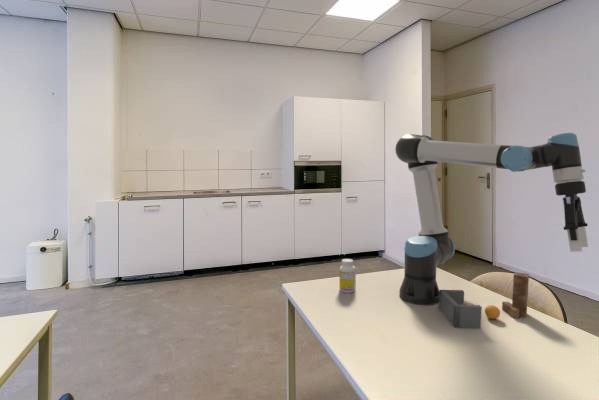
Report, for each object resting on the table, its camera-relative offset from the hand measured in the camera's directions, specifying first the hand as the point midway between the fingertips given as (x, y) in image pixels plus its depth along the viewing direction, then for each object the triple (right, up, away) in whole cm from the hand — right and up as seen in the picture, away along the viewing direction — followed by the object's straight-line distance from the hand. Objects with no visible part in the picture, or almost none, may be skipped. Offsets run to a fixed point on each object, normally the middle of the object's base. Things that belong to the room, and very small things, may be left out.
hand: (579, 249), depth 108 cm
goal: (-34, -25, +9) cm, 43 cm away
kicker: (-14, -24, +11) cm, 30 cm away
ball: (-23, -22, +8) cm, 33 cm away
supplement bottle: (-68, -22, +36) cm, 80 cm away
